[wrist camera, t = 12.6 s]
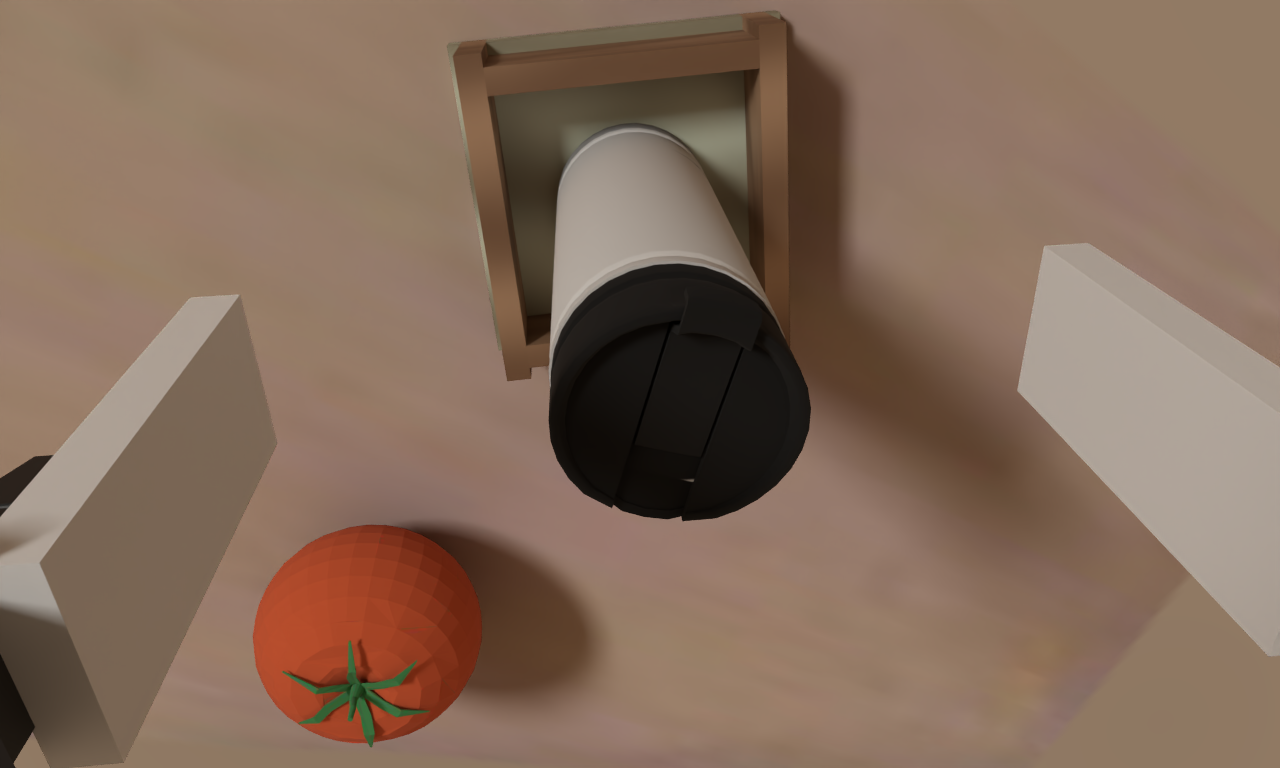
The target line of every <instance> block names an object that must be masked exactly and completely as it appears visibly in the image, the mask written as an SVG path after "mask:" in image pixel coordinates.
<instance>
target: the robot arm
mask: <svg viewBox="0 0 1280 768" xmlns="http://www.w3.org/2000/svg"><path fill="white" fill-rule="evenodd" d="M1017 391H1018V392H1019V393H1020V394H1021V395H1022V396H1023V397H1024V398H1025V399H1026V400H1027V401H1028V402H1029V403H1030V404H1031V405H1032V407H1033V408H1034V409H1035V410H1036V411H1037V412H1038V413H1039V414H1040V415H1041V416H1042V417H1043V418H1044V419H1045V420H1046V421H1047V422H1048V423H1049V425H1050V426H1051V427H1052V428H1053V429H1054V430H1055V431H1056V432H1057V433H1058V434H1059V435H1060V436H1061V437H1062V438H1063V439H1064V440H1065V441H1066V443H1067V444H1068V445H1069V446H1070V447H1071V448H1072V449H1073V450H1074V451H1075V452H1076V453H1077V454H1078V455H1079V456H1080V457H1081V458H1082V459H1083V461H1084V462H1085V463H1086V464H1087V465H1088V466H1089V467H1090V468H1091V469H1092V470H1093V471H1094V472H1095V473H1096V474H1097V475H1098V476H1099V477H1100V479H1101V480H1102V481H1103V482H1104V483H1105V484H1106V485H1107V486H1108V487H1109V488H1110V489H1111V490H1112V491H1113V492H1114V493H1115V494H1116V495H1117V497H1118V498H1119V499H1120V500H1121V501H1122V502H1123V503H1124V504H1125V505H1126V506H1127V507H1128V508H1129V509H1130V510H1131V511H1132V512H1133V513H1134V515H1135V516H1136V517H1137V518H1138V519H1139V520H1140V521H1141V522H1142V523H1143V524H1144V525H1145V526H1146V527H1147V528H1148V529H1149V530H1150V531H1151V533H1152V534H1153V535H1154V536H1155V537H1156V538H1157V539H1158V540H1159V541H1160V542H1161V543H1162V544H1163V545H1164V546H1165V547H1166V548H1167V549H1168V551H1169V552H1170V553H1171V554H1172V555H1173V556H1174V557H1175V558H1176V559H1177V560H1178V561H1179V562H1180V563H1181V564H1182V565H1183V566H1184V567H1185V569H1186V570H1187V571H1188V572H1189V573H1190V574H1191V575H1192V576H1193V577H1194V578H1195V579H1196V580H1197V581H1198V582H1199V583H1200V584H1201V585H1202V586H1203V588H1204V589H1205V590H1206V591H1207V592H1208V593H1209V594H1210V595H1211V596H1212V597H1213V598H1214V599H1215V600H1216V601H1217V602H1218V603H1219V605H1220V606H1221V607H1222V608H1223V609H1224V610H1225V611H1226V612H1227V613H1228V614H1229V615H1230V616H1231V617H1232V618H1233V619H1234V620H1235V621H1236V623H1238V625H1239V626H1240V627H1241V628H1242V629H1243V630H1244V631H1245V632H1246V633H1247V634H1248V635H1249V636H1250V637H1251V638H1252V639H1253V640H1254V642H1255V643H1257V645H1258V646H1259V647H1260V648H1261V649H1262V650H1263V651H1264V652H1265V653H1266V654H1267V655H1268V656H1269V657H1270V656H1280V367H1278V366H1277V365H1275V364H1274V363H1272V362H1271V361H1269V360H1267V359H1266V358H1264V357H1263V356H1261V355H1260V354H1258V353H1257V352H1255V351H1254V350H1252V349H1251V348H1249V347H1247V346H1246V345H1244V344H1243V343H1241V342H1240V341H1238V340H1237V339H1235V338H1234V337H1232V336H1231V335H1229V334H1227V333H1226V332H1224V331H1223V330H1221V329H1220V328H1218V327H1217V326H1215V325H1214V324H1212V323H1211V322H1209V321H1207V320H1206V319H1204V318H1203V317H1201V316H1200V315H1198V314H1197V313H1195V312H1194V311H1192V310H1191V309H1189V308H1187V307H1186V306H1184V305H1183V304H1181V303H1180V302H1178V301H1177V300H1175V299H1174V298H1172V297H1171V296H1169V295H1167V294H1166V293H1164V292H1163V291H1161V290H1160V289H1158V288H1157V287H1155V286H1154V285H1152V284H1151V283H1149V282H1147V281H1146V280H1144V279H1143V278H1141V277H1140V276H1138V275H1137V274H1135V273H1134V272H1132V271H1131V270H1129V269H1127V268H1126V267H1124V266H1123V265H1121V264H1120V263H1118V262H1117V261H1115V260H1114V259H1112V258H1111V257H1109V256H1107V255H1106V254H1104V253H1103V252H1101V251H1100V250H1098V249H1097V248H1095V247H1094V246H1092V245H1091V244H1089V243H1082V244H1066V245H1049V246H1044V250H1043V255H1042V261H1041V266H1040V272H1039V277H1038V282H1037V288H1036V293H1035V298H1034V304H1033V309H1032V315H1031V320H1030V325H1029V331H1028V336H1027V341H1026V347H1025V352H1024V358H1023V363H1022V368H1021V374H1020V379H1019V385H1018V390H1017ZM276 445H277V439H276V435H275V431H274V427H273V423H272V419H271V415H270V411H269V407H268V403H267V399H266V395H265V391H264V387H263V383H262V379H261V375H260V371H259V368H258V364H257V360H256V356H255V352H254V348H253V344H252V340H251V336H250V332H249V328H248V324H247V320H246V316H245V312H244V308H243V304H242V300H241V296H240V295H224V296H207V297H191V298H189V300H188V301H187V302H186V303H185V304H184V305H183V307H182V308H181V309H180V310H179V311H178V312H177V313H176V315H175V316H174V317H173V318H172V319H171V320H170V322H169V323H168V324H167V325H166V326H165V327H164V328H163V330H162V331H161V332H160V333H159V334H158V335H157V337H156V338H155V339H154V340H153V341H152V342H151V343H150V345H149V346H148V347H147V348H146V349H145V350H144V352H143V353H142V354H141V355H140V356H139V357H138V359H137V360H136V361H135V362H134V363H133V364H132V365H131V367H130V368H129V369H128V370H127V371H126V372H125V374H124V375H123V376H122V377H121V378H120V379H119V380H118V382H117V383H116V384H115V385H114V386H113V387H112V389H111V390H110V391H109V392H108V393H107V394H106V395H105V397H104V398H103V399H102V400H101V401H100V402H99V404H98V405H97V406H96V407H95V408H94V409H93V410H92V412H91V413H90V414H89V415H88V416H87V417H86V419H85V420H84V421H83V422H82V423H81V424H80V426H79V427H78V428H77V429H76V430H75V431H74V432H73V434H72V435H71V436H70V437H69V438H68V439H67V441H66V442H65V443H64V444H63V445H62V446H61V447H60V449H59V450H58V451H57V452H56V453H55V454H54V455H49V456H35V457H33V458H32V459H30V460H28V461H27V462H25V463H24V464H22V465H21V466H19V467H17V468H16V469H14V470H13V471H11V472H9V473H8V474H6V475H5V476H3V477H2V478H0V768H15V766H14V764H13V763H14V761H15V760H16V758H17V756H18V755H19V753H20V751H21V750H22V748H23V746H24V745H25V743H26V742H27V740H28V738H29V737H30V735H31V733H32V732H33V733H34V735H35V737H36V739H37V741H38V743H39V745H40V747H41V750H42V752H43V754H44V756H45V758H46V760H47V762H48V764H49V766H50V768H72V767H82V766H93V765H104V764H114V763H124V761H125V759H126V757H127V755H128V753H129V751H130V749H131V747H132V745H133V743H134V741H135V739H136V737H137V734H138V732H139V730H140V728H141V726H142V724H143V722H144V720H145V718H146V716H147V714H148V712H149V709H150V707H151V705H152V703H153V701H154V699H155V697H156V695H157V693H158V691H159V689H160V687H161V685H162V682H163V680H164V678H165V676H166V674H167V672H168V670H169V668H170V666H171V664H172V662H173V660H174V657H175V655H176V653H177V651H178V649H179V647H180V645H181V643H182V641H183V639H184V637H185V635H186V633H187V630H188V628H189V626H190V624H191V622H192V620H193V618H194V616H195V614H196V612H197V610H198V608H199V605H200V603H201V601H202V599H203V597H204V595H205V593H206V591H207V589H208V587H209V585H210V583H211V580H212V578H213V576H214V574H215V572H216V570H217V568H218V566H219V564H220V562H221V560H222V558H223V556H224V553H225V551H226V549H227V547H228V545H229V543H230V541H231V539H232V537H233V535H234V533H235V531H236V528H237V526H238V524H239V522H240V520H241V518H242V516H243V514H244V512H245V510H246V508H247V506H248V504H249V501H250V499H251V497H252V495H253V493H254V491H255V489H256V487H257V485H258V483H259V481H260V479H261V476H262V474H263V472H264V470H265V468H266V466H267V464H268V462H269V460H270V458H271V456H272V454H273V451H274V449H275V447H276Z"/></svg>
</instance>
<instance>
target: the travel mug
mask: <svg viewBox="0 0 1280 768" xmlns="http://www.w3.org/2000/svg"><path fill="white" fill-rule="evenodd" d="M549 358H550V362H549V380H550V403H549V428H550V439H551V443H552V446H553V449H554V452H555V455H556V458H557V461H558V462H559V464H560V465H561V467H562V469H563V470H564V472H565V473H566V475H567V476H568V478H569V479H570V480H571V481H572V482H573V483H574V484H575V485H576V486H577V487H578V488H579V489H580V490H581V491H582V493H583V494H585V495H587V496H589V497H591V498H593V499H595V500H597V501H599V502H601V503H603V504H605V505H607V506H609V507H611V508H612V507H613V505H615V506H616V507H617V508H619V509H620V510H622V511H624V512H628V513H632V514H636V515H639V516H643V517H650V518H660V519H671V518H676V517H680V516H682V521H690V520H701V519H713V518H718V517H720V516H723V515H726V514H729V513H732V512H735V511H737V510H739V509H741V508H743V507H745V506H747V505H748V504H750V503H752V502H754V501H756V500H758V499H759V498H760V497H762V496H763V495H764V494H766V493H767V492H768V491H769V490H771V489H772V488H773V487H775V486H776V485H777V484H778V483H779V482H780V480H781V479H782V478H783V477H784V476H785V475H786V474H787V473H788V471H789V470H790V469H791V468H792V466H793V465H794V463H795V461H796V459H797V458H798V456H799V454H800V453H801V451H802V449H803V446H804V443H805V440H806V437H807V434H808V431H809V423H810V413H811V407H810V400H809V393H808V387H807V385H806V383H805V380H804V378H803V375H802V373H801V370H800V368H799V366H798V364H797V362H796V360H795V358H794V356H793V354H792V352H791V350H790V348H789V346H788V344H787V342H786V340H785V336H784V333H783V331H782V329H781V326H780V324H779V321H778V319H777V317H776V315H775V313H774V311H773V309H772V307H771V305H770V303H769V301H768V299H767V297H766V295H765V293H764V291H763V289H762V287H761V285H760V283H759V281H758V279H757V277H756V275H755V273H754V271H753V269H752V267H751V265H750V263H749V261H748V259H747V257H746V255H745V253H744V251H743V249H742V247H741V245H740V243H739V241H738V239H737V237H736V235H735V233H734V231H733V229H732V227H731V225H730V223H729V221H728V219H727V217H726V215H725V213H724V211H723V209H722V207H721V205H720V203H719V201H718V199H717V197H716V195H715V193H714V191H713V189H712V187H711V185H710V183H709V181H708V179H707V177H706V175H705V173H704V171H703V170H702V167H701V165H700V163H699V161H698V160H697V158H696V157H695V155H694V154H693V152H692V151H691V150H690V148H689V147H688V146H687V145H686V144H684V143H683V142H682V141H681V140H680V139H679V138H678V137H676V136H674V135H673V134H671V133H670V132H668V131H666V130H664V129H661V128H658V127H656V126H653V125H647V124H641V123H626V124H619V125H615V126H611V127H607V128H605V129H603V130H601V131H599V132H597V133H595V134H593V135H592V136H590V137H589V138H588V139H586V140H585V141H584V142H582V143H581V144H580V145H579V146H578V148H577V149H576V150H575V151H574V152H573V153H572V154H571V156H570V158H569V159H568V161H567V163H566V165H565V166H564V169H563V171H562V174H561V177H560V180H559V187H558V194H557V213H556V233H555V254H554V274H553V294H552V315H551V335H550V355H549Z"/></svg>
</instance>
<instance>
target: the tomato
mask: <svg viewBox="0 0 1280 768" xmlns="http://www.w3.org/2000/svg"><path fill="white" fill-rule="evenodd" d="M481 638H482V621H481V611H480V607H479V602H478V598H477V595H476V593H475V591H474V588H473V586H472V584H471V582H470V580H469V578H468V576H467V574H466V572H465V571H464V570H463V568H462V567H461V566H460V565H459V563H458V562H457V561H456V560H455V559H454V558H453V557H452V556H451V555H450V554H449V553H448V552H446V551H445V550H444V549H443V548H441V547H440V546H439V545H438V544H437V543H435V542H433V541H432V540H430V539H428V538H426V537H424V536H423V535H421V534H418V533H415V532H412V531H410V530H407V529H404V528H398V527H393V526H387V525H363V526H356V527H349V528H346V529H343V530H340V531H337V532H333V533H330V534H327V535H324V536H322V537H320V538H318V539H317V540H315V541H313V542H311V543H309V544H307V545H306V546H305V547H304V548H302V549H301V550H300V551H299V552H298V553H296V554H295V555H294V556H293V557H292V558H290V559H289V560H288V561H287V562H286V563H284V565H283V566H282V567H281V568H280V570H279V571H278V572H277V574H276V575H275V576H274V577H273V579H272V580H271V582H270V584H269V585H268V587H267V589H266V591H265V593H264V595H263V597H262V600H261V602H260V604H259V607H258V611H257V615H256V620H255V626H254V633H253V643H254V653H255V661H256V668H257V670H258V673H259V675H260V678H261V680H262V683H263V685H264V687H265V689H266V691H267V693H268V694H269V696H270V697H271V699H272V700H273V702H274V703H275V705H276V706H277V707H278V708H279V709H280V710H281V711H282V712H283V713H284V714H285V715H286V716H287V717H289V718H290V719H292V720H293V721H295V722H296V723H298V724H299V725H301V726H302V727H304V728H306V729H307V730H309V731H311V732H313V733H316V734H318V735H320V736H322V737H326V738H329V739H333V740H337V741H342V742H350V743H368V744H369V745H370V747H372V745H373V742H378V741H384V740H389V739H394V738H397V737H401V736H404V735H407V734H410V733H412V732H414V731H416V730H418V729H420V728H422V727H425V726H426V725H427V724H429V723H430V722H431V721H433V720H434V719H436V718H437V717H438V716H439V715H440V714H442V713H443V712H444V711H445V710H446V709H447V708H448V707H449V706H450V705H451V704H452V703H453V702H454V701H455V700H456V698H457V697H458V696H459V695H460V693H461V691H462V690H463V688H464V686H465V685H466V683H467V681H468V679H469V678H470V676H471V674H472V672H473V671H474V668H475V664H476V661H477V657H478V653H479V649H480V645H481Z"/></svg>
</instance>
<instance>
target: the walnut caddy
mask: <svg viewBox="0 0 1280 768" xmlns="http://www.w3.org/2000/svg"><path fill="white" fill-rule="evenodd" d="M447 49H448V55H449V61H450V67H451V73H452V79H453V85H454V91H455V96H456V102H457V108H458V114H459V120H460V126H461V132H462V138H463V143H464V149H465V155H466V161H467V167H468V173H469V179H470V185H471V190H472V196H473V202H474V208H475V214H476V220H477V226H478V232H479V237H480V243H481V249H482V255H483V261H484V267H485V273H486V279H487V285H488V290H489V296H490V302H491V308H492V314H493V320H494V326H495V332H496V337H497V343H498V349H499V351H500V350H502V352H503V358H504V364H505V370H506V376H507V381H514V380H522V379H531V368H532V367H541V366H549V362H550V358H549V355H550V335H551V315H552V294H553V274H554V254H555V233H556V213H557V194H558V187H559V180H560V177H561V174H562V171H563V169H564V166H565V165H566V163H567V161H568V159H569V158H570V156H571V154H572V153H573V152H574V151H575V150H576V149H577V148H578V146H579V145H580V144H581V143H582V142H584V141H585V140H586V139H588V138H589V137H590V136H592V135H593V134H595V133H597V132H599V131H601V130H603V129H605V128H607V127H611V126H615V125H619V124H626V123H641V124H647V125H653V126H656V127H658V128H661V129H664V130H666V131H668V132H670V133H671V134H673V135H674V136H676V137H678V138H679V139H680V140H681V141H682V142H683V143H684V144H686V145H687V146H688V147H689V148H690V150H691V151H692V152H693V154H694V155H695V157H696V158H697V160H698V161H699V163H700V165H701V167H702V170H703V171H704V173H705V175H706V177H707V179H708V181H709V183H710V185H711V187H712V189H713V191H714V193H715V195H716V197H717V199H718V201H719V203H720V205H721V207H722V209H723V211H724V213H725V215H726V217H727V219H728V221H729V223H730V225H731V227H732V229H733V231H734V233H735V235H736V237H737V239H738V241H739V243H740V245H741V247H742V249H743V251H744V253H745V255H746V257H747V259H748V261H749V263H750V265H751V267H752V269H753V271H754V273H755V275H756V277H757V279H758V281H759V283H760V285H761V287H762V289H763V291H764V293H765V295H766V297H767V299H768V301H769V303H770V305H771V307H772V309H773V311H774V313H775V315H776V317H777V319H778V321H779V324H780V326H781V329H782V331H783V333H784V336H785V340H786V342H787V344H788V346H789V348H790V304H789V212H788V121H787V29H786V22H785V21H783V20H780V12H778V11H766V12H756V13H746V14H736V15H726V16H716V17H706V18H696V19H686V20H676V21H666V22H656V23H646V24H636V25H626V26H616V27H606V28H596V29H586V30H576V31H566V32H556V33H546V34H536V35H526V36H516V37H506V38H496V39H486V40H476V41H466V42H457V43H449V44H448V45H447Z"/></svg>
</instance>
